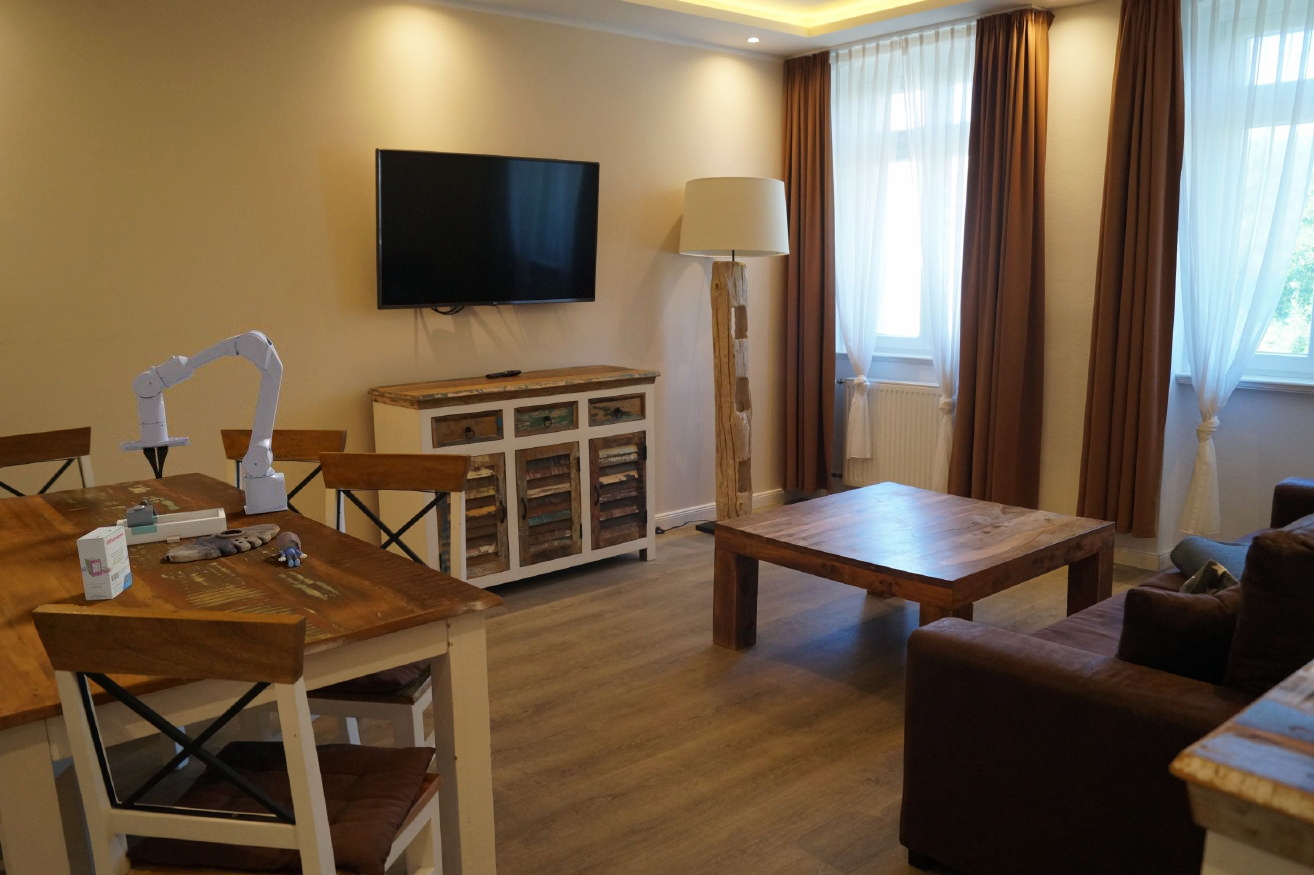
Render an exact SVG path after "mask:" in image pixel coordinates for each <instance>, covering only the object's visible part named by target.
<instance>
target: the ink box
mask: <svg viewBox="0 0 1314 875" xmlns="http://www.w3.org/2000/svg"><path fill="white" fill-rule="evenodd" d="M76 544H77V545H76V546H77V551H78V558H79V562H80V564H79V565H80V569H81V576H82V582H83V590H84V596H85V601H97V600H114V598H116V597H117V596H119V595H120V594H121V593H122V592H123V591H125V590H126V589H128V588H129V587H130V586H132V585H133V580H132V579H133V578H132V572H131V567H130V560H129V553H128V545H127V544H126V537H125V531H124V526H112V527H111V526H103V527H97V528H96V529H94V530H92V531H90V532H89V533H86V534H85V535H83V536H81V537H80V538H78V539H76Z"/></svg>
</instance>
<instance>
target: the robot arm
mask: <svg viewBox="0 0 1314 875" xmlns="http://www.w3.org/2000/svg"><path fill="white" fill-rule="evenodd" d="M239 355H240V356H241V357H242V358H244V359H246V360H248V361H249V362H251V363H253V364H254V366H255V367H256V368H257V369H258V370H259V372H260V373H261V377H260V383H259V389H258V395H257V401H256V407H255V412H254V418H253V425H252V431H251V436H250V441H249V443H248V449H247V452H246V454H245V455H244V456H243V457H242V460H241V467H242V470H243V472H244V473H243V474H242V475H243V483H244V484H243V486H244V487H243V488H244V495H245V505H244V506H243V509H244V511H245V515H254V514H264V513H270V512H271V513H272V512H279V511H286V510H288V495H287V493H286V492H287V490H286V481H285V480H286V479H285V476H284V475H285V474H284V473H283V472H276V470H275V469H273V468H272V466H271V465H272V463H273V460H274V454H273V452H272V442H273V441H272V439H273V438H272V437H273V433H274V431H273V430H274V426H275V418H276V413H277V408H278V402H279V396H280V390H281V389H280V388H281V385H282V384H281V383H282V380H283V379H282V378H283V372H284V367H283V363H282V361H281V359H280V357H279V355H278V352H277V350H276V348H275V347H274V344H273V341H272V340H271V339H270V338H269V337H268V336H267V335H266V334H264V332H262V331H260V330H256V329H255V330H254V329H252V330H249V331H247V332H245V333H243V334H242V333H241V334H237V335H234V336H231V337H228V338H224V339H223V340H221V341H219V342H217V343H214V344H213V345H210V346H209V347H207V348H205V349H203V350H201V351H199V352H197V353H195V354H193V355H191V356H189V357H188V356H187V357H186V356H183V355H177V356H176V357H175V355H171V356H169V357H167V361H165V362H163V363H161V364H159V365H157V366H154V365H153V366H149V368H148V370H147V371H144V372H141V373H139V374H138V375H136V377H134V379H133V381H132V383H131V384H132V385H131V386H132V391H133V392H134V393H135V394H136V402H137V403H136V404H137V405H136V407H137V415H138V423H139V424H138V425H139V432H140V440H134V441H125V442H120V443H119V444H120V445H119V446H120V452H121V453H125V452H131V451H132V452H133V451H139V450H140V451H142V450H143V452H142V453H143V455H144V456H145V459H147V461H148V463H149V464H150V466H151V469H152V470H153V474H154V477H155V479H156V480H160V479H163V470H164V464H165V461H166V458H167V456H168V453H169V448H175V447H189V446H190V440H189V436H186V437H185V436H180V437H168V436H169V433H168V426H167V418H166V410H165V402H164V396H163V392H162V391H163V390H164V389H166V390H167V389H170V388H172V387H174V386H176V385H179V384H180V383H183V382H184V381H186V380H189V379H191V378H193V377H194V373H195V370H196V369H198V368H200V367H203V366H204V365H207V364H210V363H213V361H216V360H219V359H220V358H223V357H225V356H226V357H227V356H229V357H238V356H239Z"/></svg>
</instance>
